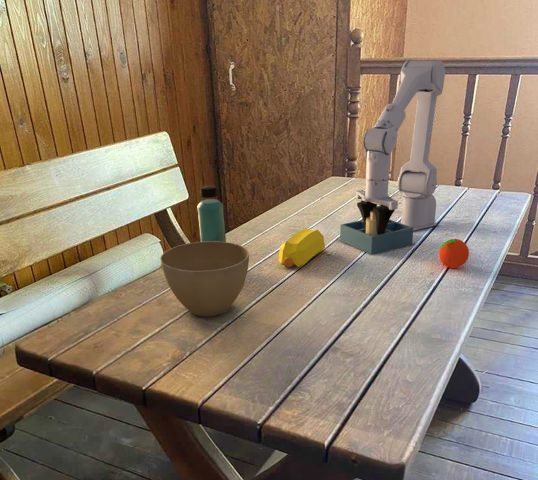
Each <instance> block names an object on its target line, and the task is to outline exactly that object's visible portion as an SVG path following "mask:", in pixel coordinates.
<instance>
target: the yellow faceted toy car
mask: <svg viewBox="0 0 538 480" xmlns="http://www.w3.org/2000/svg"><path fill="white" fill-rule="evenodd" d="M324 249H326V245H325V238H324V235H323V234H322V233H321V232H320V231H319V229H310V228H307V227H305V228H303V229H301V230H299V231H297V232H296V233H294V234H293V235H291V236H290V237H289V238H288V239H287V240H286V241H285V242H283V244H281V246H279V250H278V251H279V252H278V261H279V263H280V265H281V266H285V267H288V268H292V267H293V266H294V265H295V266H296V267H298V268H302V267H303V266H305V264H306V263H308V262H309V261H310V260H311V259H312V258H313V257H315V256H317V255H319V254H320V253H321V252H322V251H323V250H324Z"/></svg>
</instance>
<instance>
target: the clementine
mask: <svg viewBox="0 0 538 480" xmlns="http://www.w3.org/2000/svg"><path fill="white" fill-rule="evenodd" d="M469 256H470V249H469V246H468V245H467V243H466V242H464V241H463V240H461V239H458V238H451V239H449V240H448V239H447V240H446V241H445V242H443V244H442V245H441V246H440V248H439V250H438V258H439V261H440V262H441V264H442V265H443V266H444V267H446V268H449V269H458V268H460V267H462V266H464V265H465V264H466V263H467V261H468V259H469Z"/></svg>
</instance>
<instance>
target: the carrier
mask: <svg viewBox="0 0 538 480" xmlns="http://www.w3.org/2000/svg"><path fill="white" fill-rule="evenodd" d="M398 222H399V221H395V220H392V219H391V218H390V219H389V221H388V224H387V227H386V230H385V233H383V234H380V235H375V236H371V235H368V234H366V229H365V228H364V223H363V219H359V220H356V221H355V220H354V221H351V222H346V223H341V224H340V227H339V228H340V229H339V232H340V233H339V236H340V237H339V241H340V242H342V243H345V244H347V245H349V246H352V247H353V248H356V249H358V250H361V251H363V252H365V253H367V254H370V255H374V254H379V253H383V252H386V251H391V250H394V249H399V248H403V247H407V246H411V245H413V238H414V231H413V227H410V226H407V225H404V224H401V223H398Z"/></svg>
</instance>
